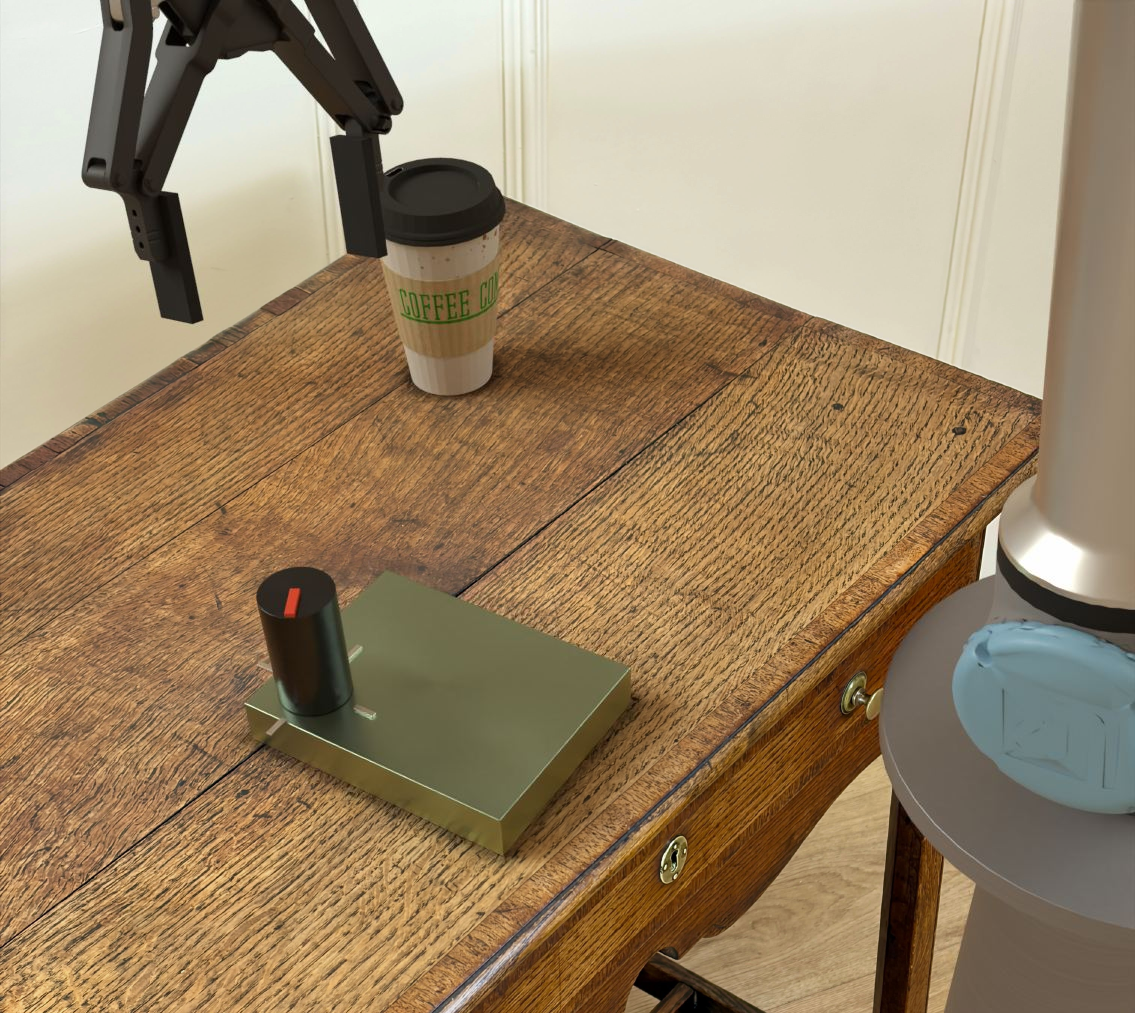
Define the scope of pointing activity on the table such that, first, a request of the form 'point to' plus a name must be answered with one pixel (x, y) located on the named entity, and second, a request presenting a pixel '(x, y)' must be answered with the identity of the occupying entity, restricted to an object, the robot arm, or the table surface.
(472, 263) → the coffee cup
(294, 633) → the knob
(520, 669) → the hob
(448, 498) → the table surface
